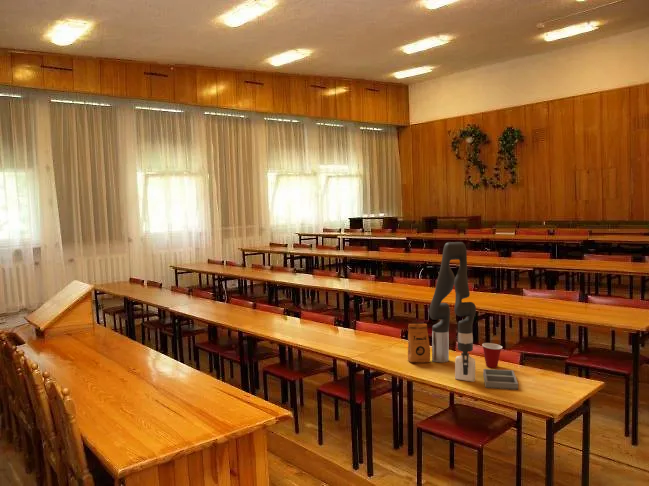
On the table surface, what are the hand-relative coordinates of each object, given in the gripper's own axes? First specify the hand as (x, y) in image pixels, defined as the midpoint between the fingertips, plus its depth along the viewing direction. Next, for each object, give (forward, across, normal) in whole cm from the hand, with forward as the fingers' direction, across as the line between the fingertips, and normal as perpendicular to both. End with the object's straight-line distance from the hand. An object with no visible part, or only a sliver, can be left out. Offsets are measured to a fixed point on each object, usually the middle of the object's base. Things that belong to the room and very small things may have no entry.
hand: (465, 372), depth 280 cm
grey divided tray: (+4, 0, +17) cm, 17 cm away
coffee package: (+4, -28, -25) cm, 38 cm away
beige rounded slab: (+4, 0, 0) cm, 4 cm away
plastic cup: (+4, -25, +15) cm, 29 cm away
